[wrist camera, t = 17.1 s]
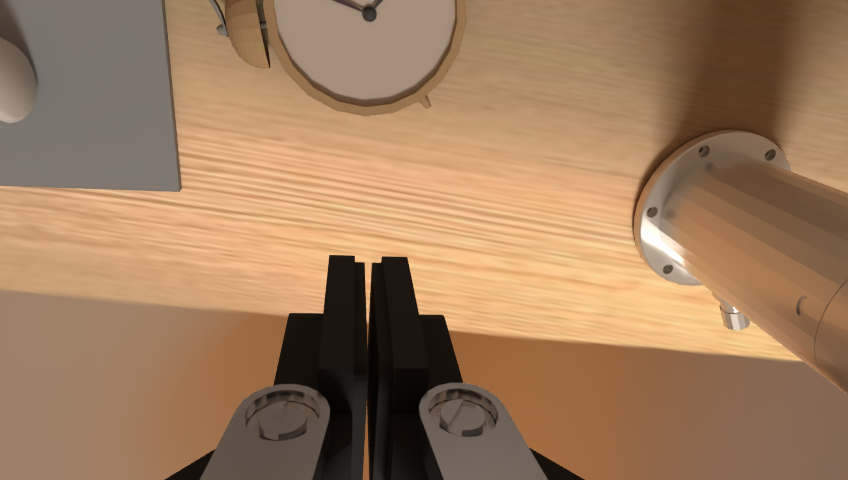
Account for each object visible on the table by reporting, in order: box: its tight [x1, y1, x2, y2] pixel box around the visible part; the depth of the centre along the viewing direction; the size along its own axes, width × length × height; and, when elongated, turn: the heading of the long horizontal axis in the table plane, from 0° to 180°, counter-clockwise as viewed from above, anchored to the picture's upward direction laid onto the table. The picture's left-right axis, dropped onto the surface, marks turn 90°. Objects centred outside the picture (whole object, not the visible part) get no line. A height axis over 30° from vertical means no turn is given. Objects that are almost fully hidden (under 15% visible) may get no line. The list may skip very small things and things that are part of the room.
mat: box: [0, 0, 182, 192], centre depth 30 cm, size 14×14×1 cm
